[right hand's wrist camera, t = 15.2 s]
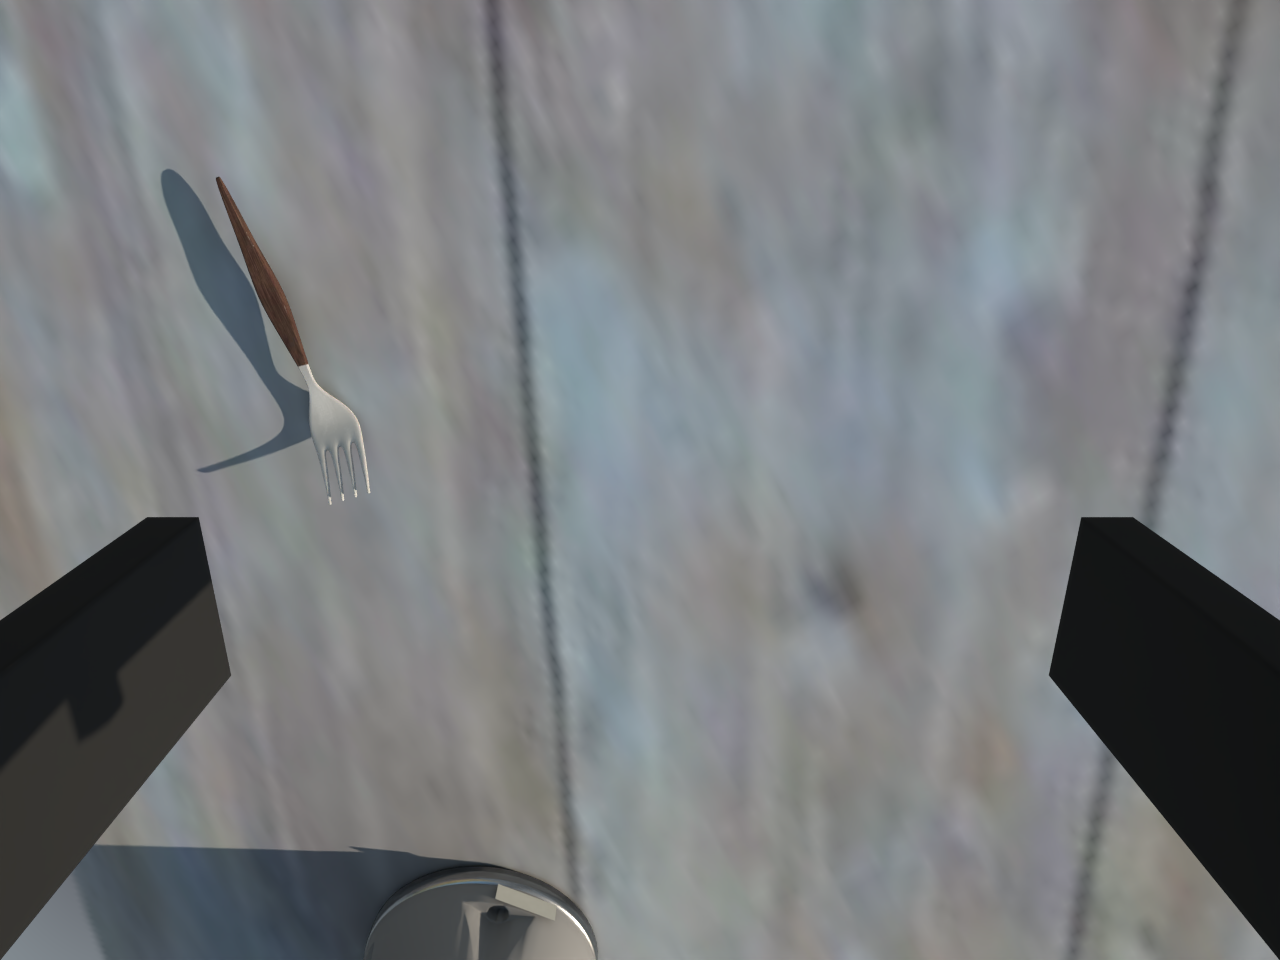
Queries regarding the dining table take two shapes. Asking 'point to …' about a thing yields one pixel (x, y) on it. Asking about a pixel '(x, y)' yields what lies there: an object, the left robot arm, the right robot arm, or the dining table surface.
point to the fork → (300, 359)
